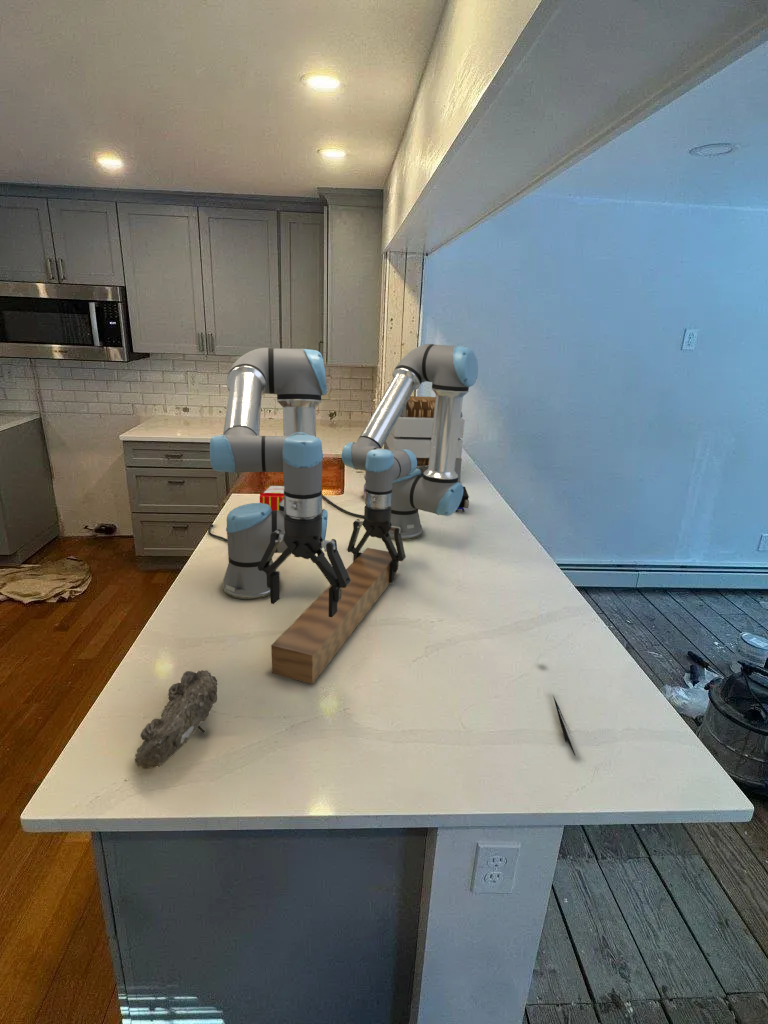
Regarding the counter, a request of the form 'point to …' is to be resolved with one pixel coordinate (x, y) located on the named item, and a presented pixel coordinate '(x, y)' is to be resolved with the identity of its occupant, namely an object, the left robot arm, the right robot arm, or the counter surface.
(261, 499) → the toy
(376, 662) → the counter surface
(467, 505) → the figurine character
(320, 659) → the thick board
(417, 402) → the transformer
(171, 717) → the fossil
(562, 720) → the feather
